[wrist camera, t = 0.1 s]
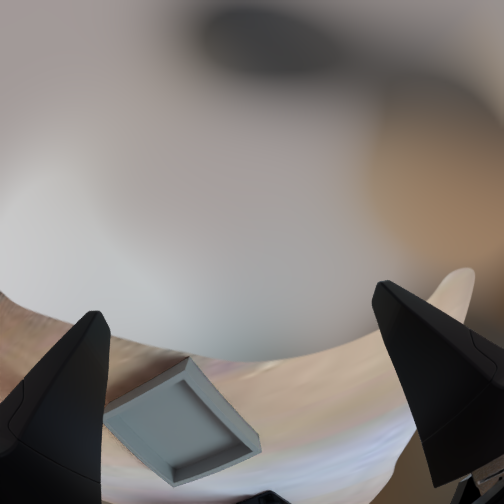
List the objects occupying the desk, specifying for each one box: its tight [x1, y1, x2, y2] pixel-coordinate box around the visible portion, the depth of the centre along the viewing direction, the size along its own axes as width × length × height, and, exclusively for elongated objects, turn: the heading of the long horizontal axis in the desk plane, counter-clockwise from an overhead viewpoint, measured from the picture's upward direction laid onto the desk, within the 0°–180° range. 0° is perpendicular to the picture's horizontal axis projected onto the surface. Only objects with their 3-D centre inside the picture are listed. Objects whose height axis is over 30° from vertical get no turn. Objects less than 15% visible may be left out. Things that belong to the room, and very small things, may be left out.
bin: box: [103, 357, 262, 487], centre depth 21 cm, size 11×11×3 cm
